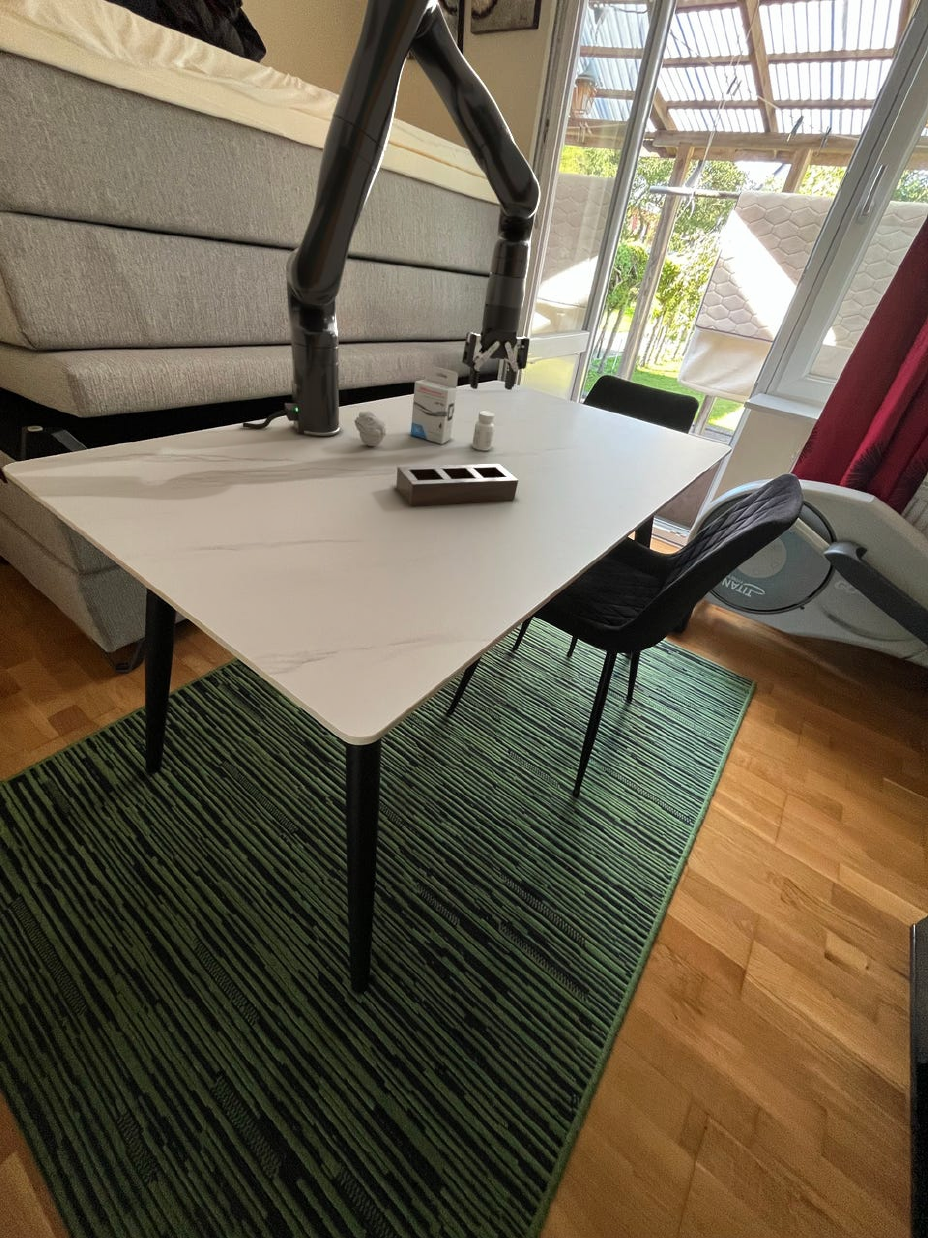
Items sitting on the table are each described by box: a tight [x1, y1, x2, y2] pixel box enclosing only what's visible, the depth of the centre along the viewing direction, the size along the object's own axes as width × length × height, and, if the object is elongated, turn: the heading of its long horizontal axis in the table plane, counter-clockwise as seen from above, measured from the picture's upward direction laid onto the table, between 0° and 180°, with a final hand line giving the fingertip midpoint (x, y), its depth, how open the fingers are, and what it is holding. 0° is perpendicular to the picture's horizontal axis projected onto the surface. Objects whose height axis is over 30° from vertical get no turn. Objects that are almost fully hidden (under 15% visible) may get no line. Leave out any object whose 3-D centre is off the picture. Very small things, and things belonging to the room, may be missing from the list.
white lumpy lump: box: [353, 411, 387, 447], centre depth 109 cm, size 6×7×7 cm
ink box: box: [410, 364, 459, 445], centre depth 116 cm, size 9×5×15 cm, turn 65°
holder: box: [395, 463, 519, 507], centre depth 95 cm, size 8×21×4 cm, turn 114°
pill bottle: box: [471, 410, 495, 451], centre depth 118 cm, size 4×4×8 cm
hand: (490, 388), depth 112 cm, fingers open, 8 cm apart
